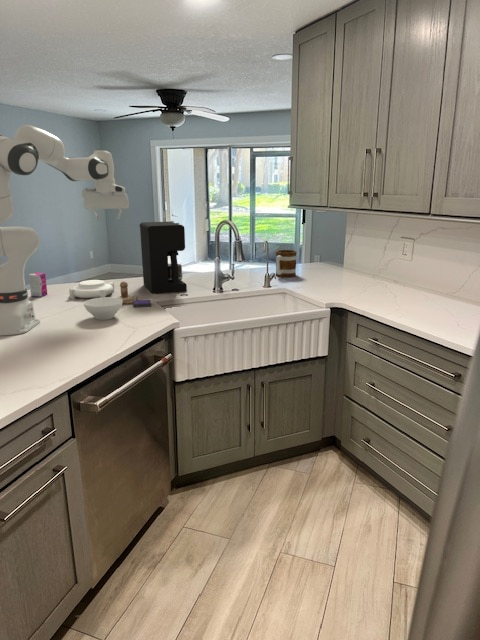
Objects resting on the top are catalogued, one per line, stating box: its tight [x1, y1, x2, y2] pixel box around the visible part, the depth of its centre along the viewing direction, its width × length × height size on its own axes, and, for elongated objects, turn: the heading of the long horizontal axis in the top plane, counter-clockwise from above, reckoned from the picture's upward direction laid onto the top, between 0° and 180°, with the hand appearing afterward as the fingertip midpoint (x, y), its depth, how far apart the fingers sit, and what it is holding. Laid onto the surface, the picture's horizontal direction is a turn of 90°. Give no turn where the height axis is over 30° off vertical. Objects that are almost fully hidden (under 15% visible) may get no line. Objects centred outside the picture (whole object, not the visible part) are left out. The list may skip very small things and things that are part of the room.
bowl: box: [83, 296, 123, 321], centre depth 195 cm, size 16×16×7 cm
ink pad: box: [132, 299, 152, 308], centre depth 216 cm, size 8×8×2 cm
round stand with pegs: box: [68, 279, 115, 300], centre depth 234 cm, size 24×24×7 cm
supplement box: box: [28, 272, 48, 298], centre depth 232 cm, size 6×6×12 cm
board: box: [116, 296, 139, 306], centre depth 222 cm, size 12×12×1 cm
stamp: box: [118, 281, 131, 301], centre depth 220 cm, size 5×5×9 cm
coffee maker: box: [138, 220, 188, 295], centre depth 243 cm, size 28×20×35 cm
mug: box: [275, 249, 298, 279], centre depth 279 cm, size 20×14×15 cm
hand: (108, 218), depth 213 cm, fingers open, 8 cm apart
